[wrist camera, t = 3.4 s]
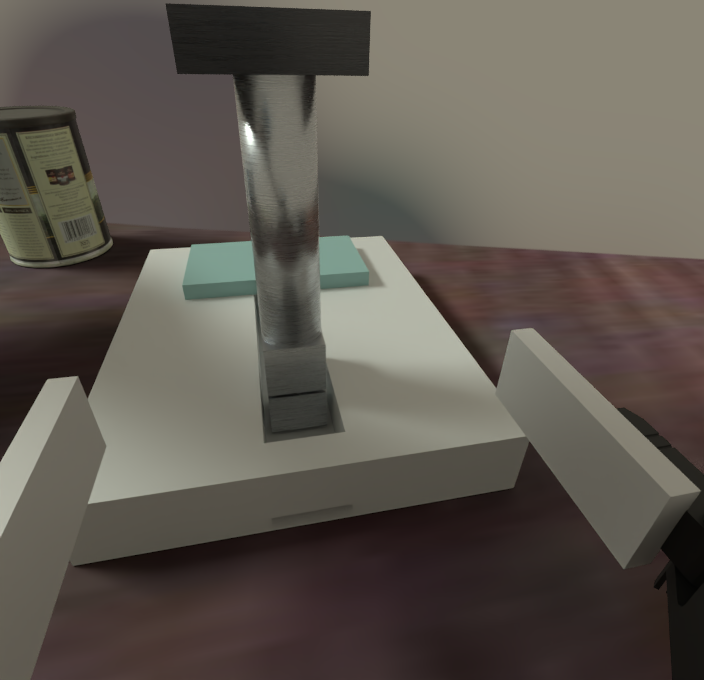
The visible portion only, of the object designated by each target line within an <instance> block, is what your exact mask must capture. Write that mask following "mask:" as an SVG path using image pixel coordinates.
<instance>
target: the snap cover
mask: <svg viewBox="0 0 704 680" xmlns="http://www.w3.org/2000/svg"><path fill="white" fill-rule="evenodd" d="M319 251H320V289H329V288H341V287H354V286H366V285H369V270H368V269H367V267H366V265H365V263H364V262H363V260H362V258H361V256H360V255H359V253H358V251H357V249H356V248H355V246H354V244H353V242H352V241H351V239H350V237H349V236H333V237H319ZM182 287H183V292H184V296H185V300H191V299H203V298H216V297H228V296H241V295H254V294H257V288H256V279H255V270H254V261H253V252H252V243H251V241H247V242H230V243H212V244H195V245H191V249H190V253H189V258H188V262H187V266H186V271H185V275H184V279H183V284H182Z"/></svg>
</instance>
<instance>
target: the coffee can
mask: <svg viewBox="0 0 704 680" xmlns="http://www.w3.org/2000/svg"><path fill="white" fill-rule="evenodd" d="M0 234H1V236H2V238H3V240H4V243H5V245H6V247H7V249H8V252H9V254H10V259H11V261H12V262H14V263H15V264H17V265H20V266H24V267H32V268H47V267H58V266H66V265H72V264H76V263H80V262H83V261H87V260H89V259H92V258H95V257H97V256H99V255H101V254H103V253H105V252H106V251H108V250H109V249H110V248H111V246H112V245H113V240H112V238H111V236H110V233H109V229H108V226H107V223H106V220H105V216H104V213H103V210H102V206H101V203H100V200H99V197H98V193H97V190H96V187H95V183H94V180H93V176H92V173H91V170H90V166H89V163H88V159H87V156H86V153H85V149H84V146H83V143H82V139H81V136H80V133H79V129H78V126H77V123H76V113H75V110H73V109H71V108H67V107H57V106H13V107H0Z"/></svg>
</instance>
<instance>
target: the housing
mask: <svg viewBox="0 0 704 680" xmlns="http://www.w3.org/2000/svg"><path fill="white" fill-rule="evenodd" d="M350 239H351V241H352V242H353V244H354V246H355V248H356V249H357V251H358V253H359V255H360V256H361V258H362V260H363V262H364V263H365V265H366V267H367V269H368V270H369V285H366V286H354V287H341V288H329V289H320V295H321V330H322V334H323V337H324V341H325V344H326V394H327V425H322V426H314V427H307V428H300V429H292V430H285V431H278V432H272V427H271V418H270V409H269V400H268V391H267V382H266V373H265V364H264V355H263V344H262V333H261V324H260V315H259V306H258V297H257V294H254V295H241V296H228V297H216V298H203V299H191V300H185V296H184V292H183V287H182V284H183V279H184V275H185V271H186V266H187V262H188V258H189V253H190V249H191V247H189V248H172V249H155V250H150V252H149V255H148V257H147V259H146V262H145V264H144V266H143V269H142V271H141V274H140V276H139V278H138V281H137V283H136V285H135V288H134V290H133V293H132V295H131V297H130V300H129V302H128V304H127V307H126V309H125V312H124V314H123V316H122V319H121V321H120V323H119V326H118V328H117V331H116V333H115V335H114V338H113V340H112V342H111V345H110V347H109V350H108V352H107V354H106V357H105V359H104V361H103V364H102V366H101V369H100V371H99V373H98V376H97V378H96V380H95V383H94V385H93V388H92V390H91V392H90V395H89V397H88V402H89V404H90V407H91V409H92V412H93V414H94V417H95V419H96V421H97V424H98V426H99V429H100V431H101V434H102V436H103V439H104V441H105V444H106V449H105V453H104V456H103V459H102V462H101V465H100V468H99V471H98V474H97V477H96V480H95V483H94V486H93V489H92V492H91V496H90V499H89V502H88V505H87V508H86V511H85V514H84V517H83V520H82V523H81V526H80V529H79V532H78V535H77V538H76V542H75V545H74V548H73V551H72V554H71V557H70V560H69V561H70V562H71V564H72V566H76V565H82V564H87V563H93V562H98V561H104V560H110V559H115V558H121V557H127V556H132V555H138V554H144V553H149V552H155V551H161V550H166V549H172V548H177V547H183V546H189V545H194V544H200V543H206V542H211V541H217V540H223V539H228V538H234V537H240V536H245V535H251V534H256V533H262V532H268V531H273V530H279V529H285V528H290V527H296V526H302V525H307V524H313V523H319V522H324V521H330V520H335V519H341V518H347V517H352V516H358V515H364V514H369V513H375V512H381V511H386V510H392V509H398V508H403V507H409V506H414V505H420V504H426V503H431V502H437V501H443V500H448V499H454V498H460V497H465V496H471V495H477V494H482V493H488V492H493V491H499V490H505V489H510V488H514V486H515V483H516V480H517V477H518V474H519V471H520V468H521V465H522V462H523V459H524V456H525V453H526V450H527V447H528V444H529V440H528V438H527V437H526V436H525V434H524V433H523V431H522V430H521V429H520V427H519V426H518V425H517V423H516V422H515V421H514V419H513V418H512V416H511V415H510V414H509V412H508V411H507V410H506V408H505V407H504V406H503V404H502V403H501V401H500V400H499V399H498V397H497V396H496V395H495V393H496V387H495V386H494V385H493V383H492V382H491V381H490V379H489V378H488V377H487V375H486V374H485V373H484V371H483V370H482V369H481V367H480V366H479V365H478V363H477V362H476V361H475V359H474V358H473V357H472V355H471V354H470V353H469V351H468V350H467V349H466V347H465V346H464V345H463V343H462V342H461V341H460V339H459V338H458V337H457V335H456V334H455V333H454V331H453V330H452V329H451V327H450V326H449V325H448V323H447V322H446V321H445V319H444V318H443V317H442V315H441V314H440V313H439V311H438V310H437V309H436V307H435V306H434V305H433V303H432V302H431V301H430V299H429V298H428V297H427V295H426V294H425V293H424V291H423V290H422V289H421V287H420V286H419V285H418V283H417V282H416V281H415V279H414V278H413V277H412V275H411V274H410V273H409V271H408V270H407V269H406V267H405V266H404V265H403V263H402V262H401V261H400V259H399V258H398V257H397V255H396V254H395V252H394V251H393V250H392V248H391V247H390V246H389V244H388V243H387V242H386V240H385V239H384V238H383V236H376V237H360V238H350Z"/></svg>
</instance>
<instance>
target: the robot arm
mask: <svg viewBox="0 0 704 680" xmlns="http://www.w3.org/2000/svg"><path fill="white" fill-rule="evenodd" d="M495 395H496V396H497V397H498V399H499V400H500V401H501V403H502V404H503V406H504V407H505V408H506V410H507V411H508V412H509V414H510V415H511V416H512V418H513V419H514V421H515V422H516V423H517V425H518V426H519V427H520V429H521V430H522V431H523V433H524V434H525V436H526V437H527V438H528V440H529V441H530V442H531V444H532V445H533V446H534V448H535V449H536V451H537V452H538V453H539V455H540V456H541V457H542V459H543V460H544V461H545V463H546V464H547V466H548V467H549V468H550V470H551V471H552V472H553V474H554V475H555V476H556V478H557V479H558V481H559V482H560V483H561V485H562V486H563V487H564V489H565V490H566V491H567V493H568V494H569V496H570V497H571V498H572V500H573V501H574V502H575V504H576V505H577V506H578V508H579V509H580V511H581V512H582V513H583V515H584V516H585V517H586V519H587V520H588V521H589V523H590V524H591V526H592V527H593V528H594V530H595V531H596V532H597V534H598V535H599V536H600V538H601V539H602V541H603V542H604V543H605V545H606V546H607V547H608V549H609V550H610V551H611V553H612V554H613V556H614V557H615V558H616V560H617V561H618V562H619V564H620V565H621V566H622V568H623V569H628V568H633V567H637V566H641V565H646V564H650V563H651V562H652V561H653V559H654V558H655V556H656V555H657V554H658V552H659V551H660V549H662V550H663V552H664V553H665V554H666V555H667V556H668V558H669V559H670V561H669V562H668V564H667V565H666V566H665V568H664V569H663V570H662V572H661V573H660V574H659V576H658V577H657V579H656V580H655V583H654V588H656V589H658V590H659V589H660V587H661V586H662V585H663V583H664V582H665V581H666V580H667V591H666V593H667V596H668V613H669V631H670V648H671V666H672V680H704V475H703V474H702V473H701V472H700V471H699V470H698V469H697V468H696V467H695V466H694V465H693V464H692V463H690V462H689V461H688V460H687V459H686V458H685V457H684V456H683V455H682V454H681V453H680V452H679V451H678V450H676V449H675V448H672V447H671V444H670V443H669V442H668V441H667V440H666V439H665V438H663V437H662V436H659V433H658V432H657V431H656V430H655V429H654V428H653V427H652V426H651V425H649V424H648V423H647V422H646V421H645V420H644V419H643V418H641V417H639V416H637V415H636V414H634V413H632V412H631V411H629V410H627V409H625V408H618V409H616V408H615V407H614V406H613V405H612V404H611V403H610V402H608V401H607V400H606V399H605V398H604V397H603V396H602V395H601V394H600V393H599V392H598V391H597V390H596V389H595V388H594V387H593V386H592V385H591V384H590V383H589V382H588V381H587V380H586V379H585V378H584V377H583V376H582V375H581V374H580V373H578V372H577V371H576V370H575V369H574V368H573V367H572V366H571V365H570V364H569V363H568V362H567V361H566V360H565V359H564V358H563V357H562V356H561V355H560V354H559V353H558V352H557V351H556V350H555V349H554V348H553V347H552V346H551V345H550V344H548V343H547V342H546V341H545V340H544V339H543V338H542V337H541V336H540V335H539V334H538V333H537V332H536V331H535V330H534V329H533V328H528V329H519V330H512V331H511V334H510V338H509V342H508V346H507V350H506V354H505V358H504V362H503V366H502V370H501V374H500V378H499V381H498V385H497V389H496V393H495ZM105 449H106V444H105V441H104V439H103V436H102V434H101V431H100V429H99V426H98V424H97V421H96V419H95V417H94V414H93V412H92V409H91V407H90V404H89V402H88V399H87V397H86V394H85V392H84V390H83V387H82V385H81V382H80V380H79V377H78V376H74V377H64V378H55V379H47V381H46V383H45V384H44V386H43V388H42V390H41V391H40V393H39V395H38V397H37V398H36V400H35V402H34V404H33V406H32V407H31V409H30V411H29V413H28V414H27V416H26V418H25V420H24V421H23V423H22V425H21V427H20V428H19V430H18V432H17V434H16V436H15V437H14V439H13V441H12V443H11V444H10V446H9V448H8V450H7V451H6V453H5V455H4V457H3V458H2V460H1V462H0V680H31V677H32V673H33V670H34V667H35V664H36V661H37V658H38V655H39V652H40V649H41V646H42V643H43V640H44V637H45V634H46V631H47V627H48V624H49V621H50V618H51V615H52V612H53V609H54V606H55V603H56V600H57V597H58V594H59V591H60V588H61V585H62V581H63V578H64V575H65V572H66V569H67V566H68V563H69V560H70V557H71V554H72V551H73V548H74V545H75V542H76V538H77V535H78V532H79V529H80V526H81V523H82V520H83V517H84V514H85V511H86V508H87V505H88V502H89V499H90V496H91V492H92V489H93V486H94V483H95V480H96V477H97V474H98V471H99V468H100V465H101V462H102V459H103V456H104V453H105Z"/></svg>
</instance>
